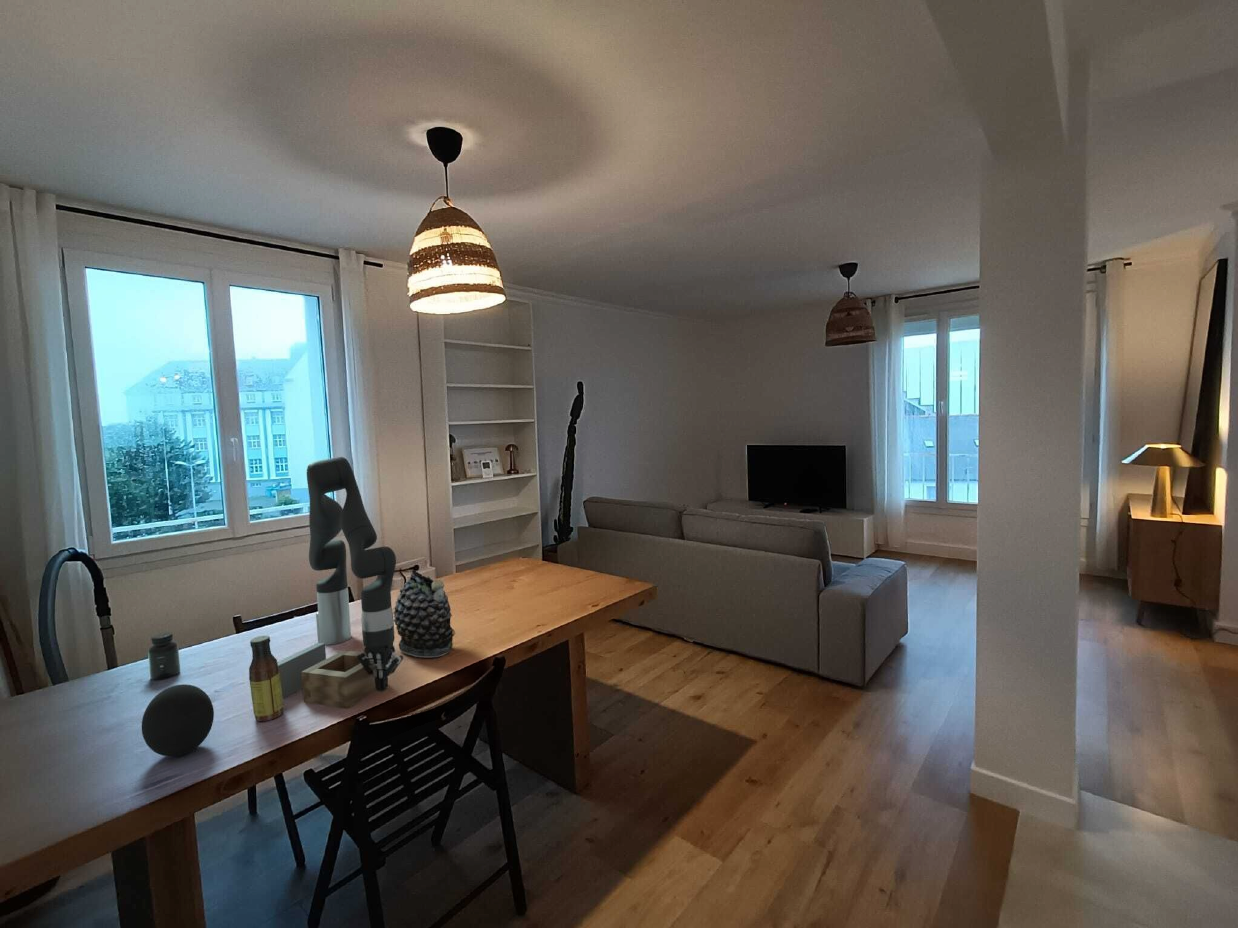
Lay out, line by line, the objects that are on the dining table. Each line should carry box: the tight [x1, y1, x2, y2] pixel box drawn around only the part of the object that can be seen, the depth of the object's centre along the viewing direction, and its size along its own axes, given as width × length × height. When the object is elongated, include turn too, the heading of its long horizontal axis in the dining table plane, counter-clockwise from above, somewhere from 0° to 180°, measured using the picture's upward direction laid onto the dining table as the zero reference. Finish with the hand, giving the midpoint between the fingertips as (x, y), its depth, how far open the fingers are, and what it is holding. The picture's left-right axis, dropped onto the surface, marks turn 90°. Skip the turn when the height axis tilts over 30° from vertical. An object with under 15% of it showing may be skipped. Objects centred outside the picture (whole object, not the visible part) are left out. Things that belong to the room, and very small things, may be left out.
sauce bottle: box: [248, 635, 284, 722], centre depth 137 cm, size 6×6×20 cm
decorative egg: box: [141, 683, 215, 758], centre depth 123 cm, size 12×12×15 cm
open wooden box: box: [301, 649, 377, 709], centre depth 149 cm, size 14×14×8 cm
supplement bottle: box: [147, 632, 181, 681], centre depth 163 cm, size 7×7×12 cm
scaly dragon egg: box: [393, 569, 456, 659], centre depth 175 cm, size 21×15×25 cm
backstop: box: [277, 642, 327, 699], centre depth 154 cm, size 2×16×9 cm, turn 162°
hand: (382, 689), depth 146 cm, fingers closed
